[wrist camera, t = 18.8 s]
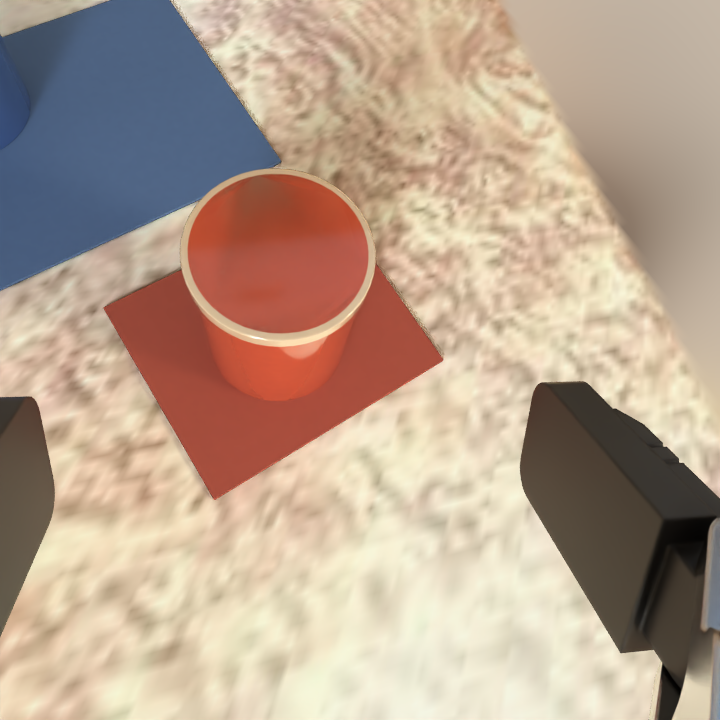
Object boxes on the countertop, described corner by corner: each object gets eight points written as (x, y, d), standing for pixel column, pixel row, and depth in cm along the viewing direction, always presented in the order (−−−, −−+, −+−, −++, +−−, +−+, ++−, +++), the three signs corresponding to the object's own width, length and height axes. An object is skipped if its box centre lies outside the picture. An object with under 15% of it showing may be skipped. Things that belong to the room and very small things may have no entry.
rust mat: (214, 499, 26) (214, 499, 26) (104, 309, 29) (103, 307, 28) (442, 361, 30) (443, 359, 30) (329, 199, 32) (329, 197, 32)
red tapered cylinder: (251, 433, 27) (243, 377, 20) (176, 311, 29) (143, 216, 21) (376, 359, 29) (413, 282, 22) (301, 248, 31) (311, 140, 23)
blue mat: (-36, 307, 28) (-38, 305, 28) (-148, 91, 30) (-150, 88, 30) (280, 163, 32) (280, 160, 32) (159, -13, 35) (158, -17, 35)
